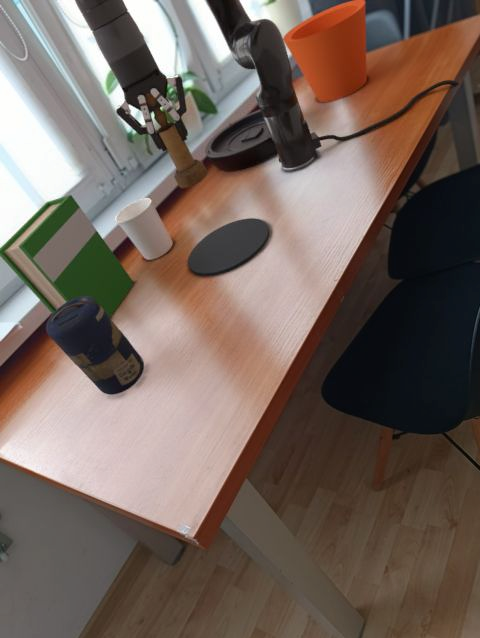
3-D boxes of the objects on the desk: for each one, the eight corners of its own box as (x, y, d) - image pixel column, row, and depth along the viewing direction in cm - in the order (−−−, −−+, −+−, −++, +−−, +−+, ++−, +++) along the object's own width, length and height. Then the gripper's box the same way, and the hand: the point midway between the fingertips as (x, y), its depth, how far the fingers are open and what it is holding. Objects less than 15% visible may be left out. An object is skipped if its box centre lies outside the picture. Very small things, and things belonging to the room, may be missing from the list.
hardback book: (98, 335, 105) (21, 245, 90) (74, 337, 108) (-4, 251, 93) (134, 282, 116) (70, 194, 101) (111, 286, 119) (46, 202, 104)
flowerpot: (388, 83, 142) (372, 7, 130) (307, 117, 148) (284, 48, 136) (373, 62, 160) (357, -6, 148) (301, 94, 167) (281, 31, 154)
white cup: (181, 235, 124) (157, 194, 117) (166, 259, 118) (139, 217, 111) (152, 241, 129) (127, 202, 121) (135, 264, 123) (108, 224, 115)
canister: (107, 369, 94) (45, 301, 83) (149, 352, 93) (93, 280, 81) (99, 405, 87) (31, 336, 76) (145, 387, 85) (83, 314, 74)
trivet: (261, 210, 116) (260, 207, 116) (277, 249, 101) (276, 246, 100) (187, 245, 119) (186, 243, 118) (191, 288, 103) (190, 285, 103)
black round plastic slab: (198, 182, 146) (288, 159, 131) (189, 164, 142) (280, 138, 127) (232, 136, 164) (314, 111, 149) (224, 119, 160) (308, 92, 146)
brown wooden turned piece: (203, 182, 95) (155, 90, 84) (175, 192, 98) (125, 103, 86) (211, 166, 100) (166, 77, 88) (184, 176, 102) (137, 90, 91)
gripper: (87, 74, 81) (142, 167, 92) (162, 33, 79) (209, 133, 90) (91, 66, 87) (143, 154, 98) (161, 27, 85) (206, 122, 96)
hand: (175, 143), depth 94 cm, fingers closed on brown wooden turned piece, 4 cm apart
